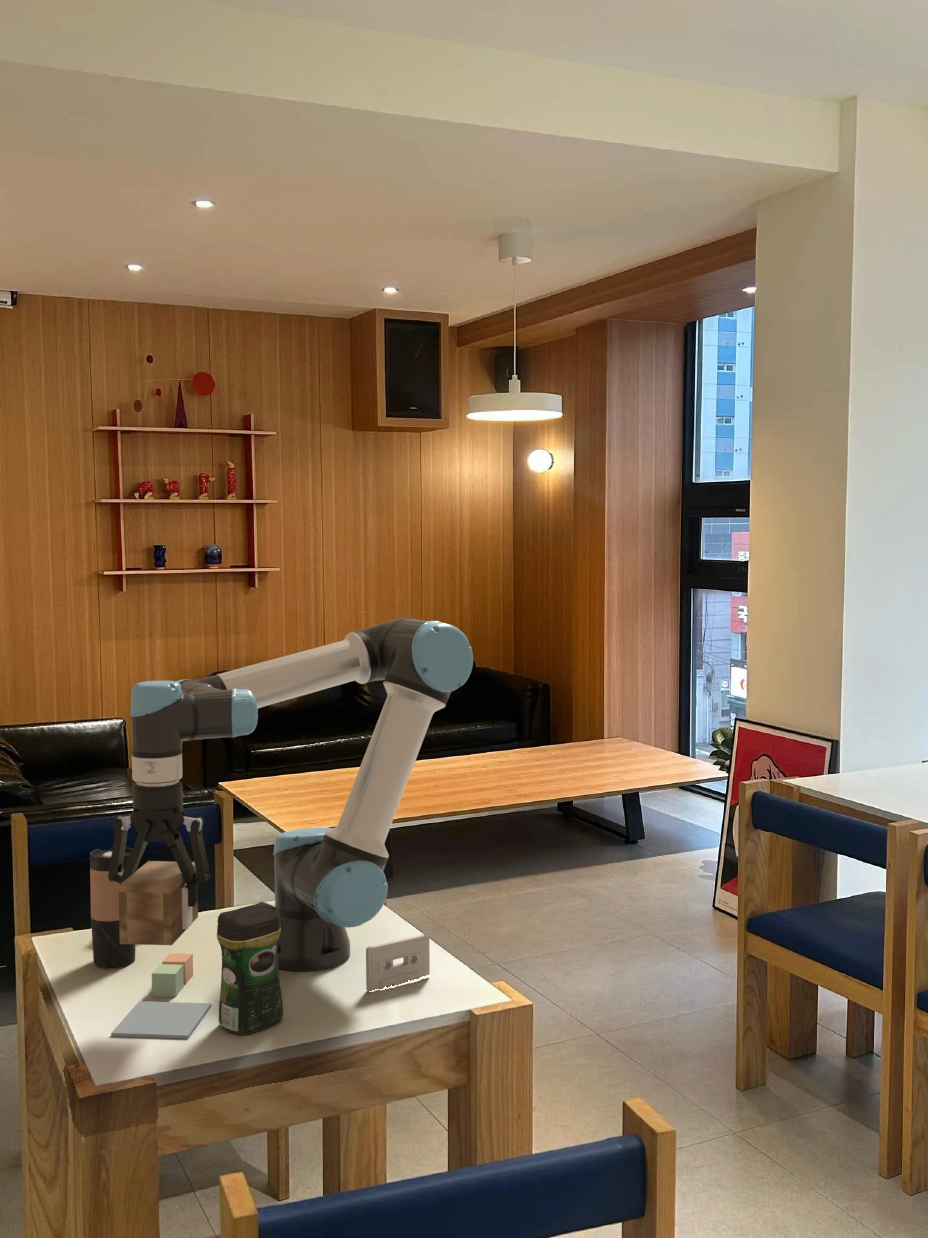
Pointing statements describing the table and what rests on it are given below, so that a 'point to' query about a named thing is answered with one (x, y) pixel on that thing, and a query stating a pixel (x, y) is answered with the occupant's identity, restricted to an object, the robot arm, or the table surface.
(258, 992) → the coffee jar
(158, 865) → the tan rectangular box
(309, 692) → the robot arm
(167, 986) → the sage green block
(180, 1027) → the slate mat
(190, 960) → the terracotta block
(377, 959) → the cassette
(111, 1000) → the table surface
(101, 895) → the travel mug
